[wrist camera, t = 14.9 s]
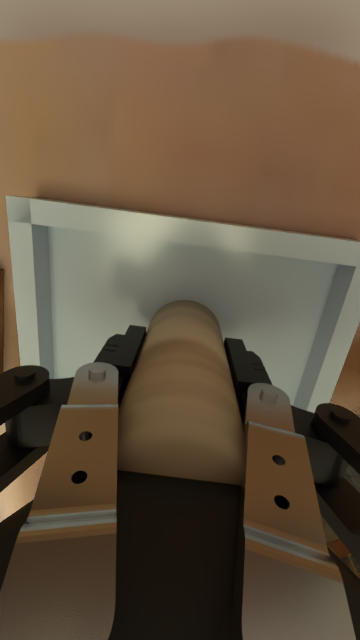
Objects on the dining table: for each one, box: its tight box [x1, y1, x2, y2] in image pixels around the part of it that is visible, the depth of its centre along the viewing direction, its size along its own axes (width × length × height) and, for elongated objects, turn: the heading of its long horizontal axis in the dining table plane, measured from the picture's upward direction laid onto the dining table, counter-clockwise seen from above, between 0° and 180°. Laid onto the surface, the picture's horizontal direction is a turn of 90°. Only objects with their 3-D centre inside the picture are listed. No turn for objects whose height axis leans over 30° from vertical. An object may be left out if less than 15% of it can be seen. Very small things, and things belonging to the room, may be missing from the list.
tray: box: [6, 195, 360, 413], centre depth 15 cm, size 11×16×2 cm
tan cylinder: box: [117, 300, 244, 485], centre depth 10 cm, size 4×4×9 cm
